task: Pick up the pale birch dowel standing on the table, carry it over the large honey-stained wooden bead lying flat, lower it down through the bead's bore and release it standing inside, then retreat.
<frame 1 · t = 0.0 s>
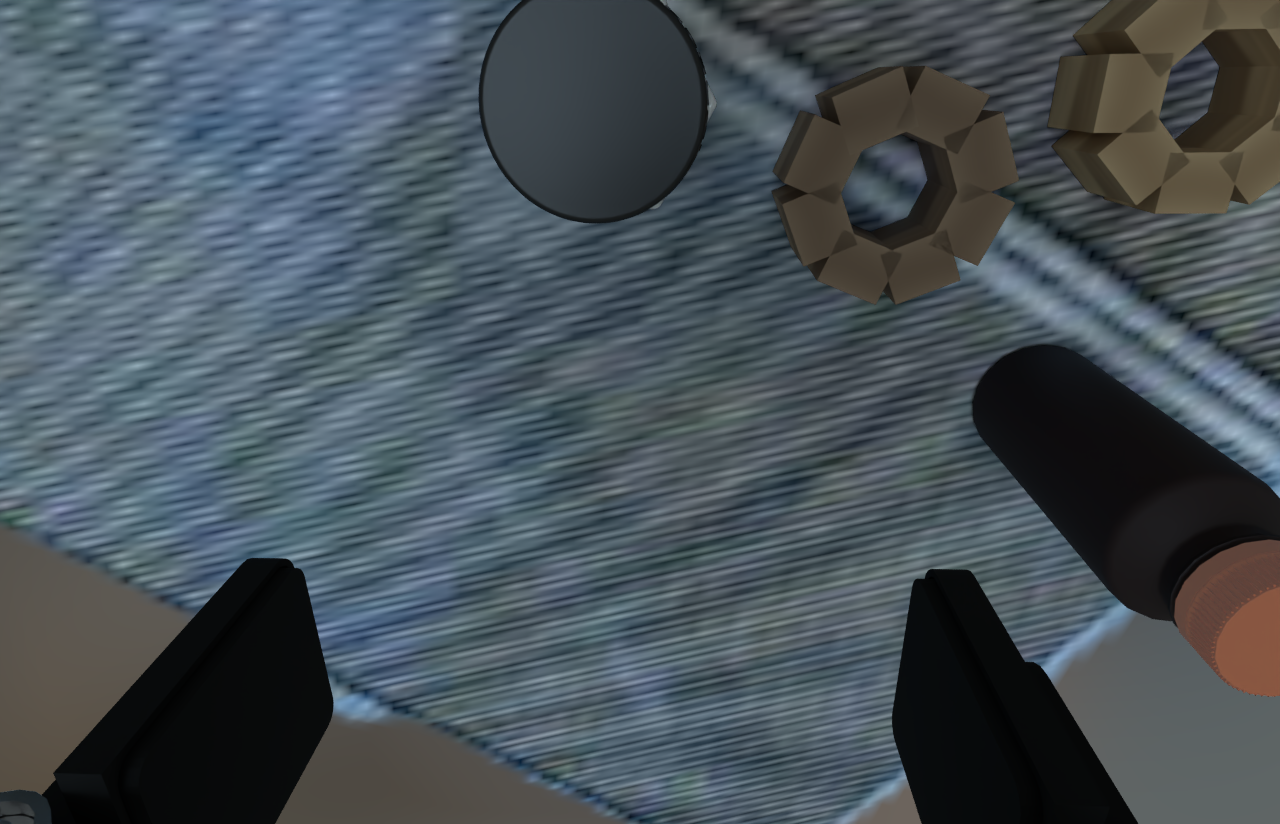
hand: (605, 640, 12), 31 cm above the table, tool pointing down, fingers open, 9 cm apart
bottle: (1030, 398, 43), on the table
bead: (1161, 90, 36), on the table
bead two: (875, 180, 38), on the table
jar: (618, 98, 38), on the table
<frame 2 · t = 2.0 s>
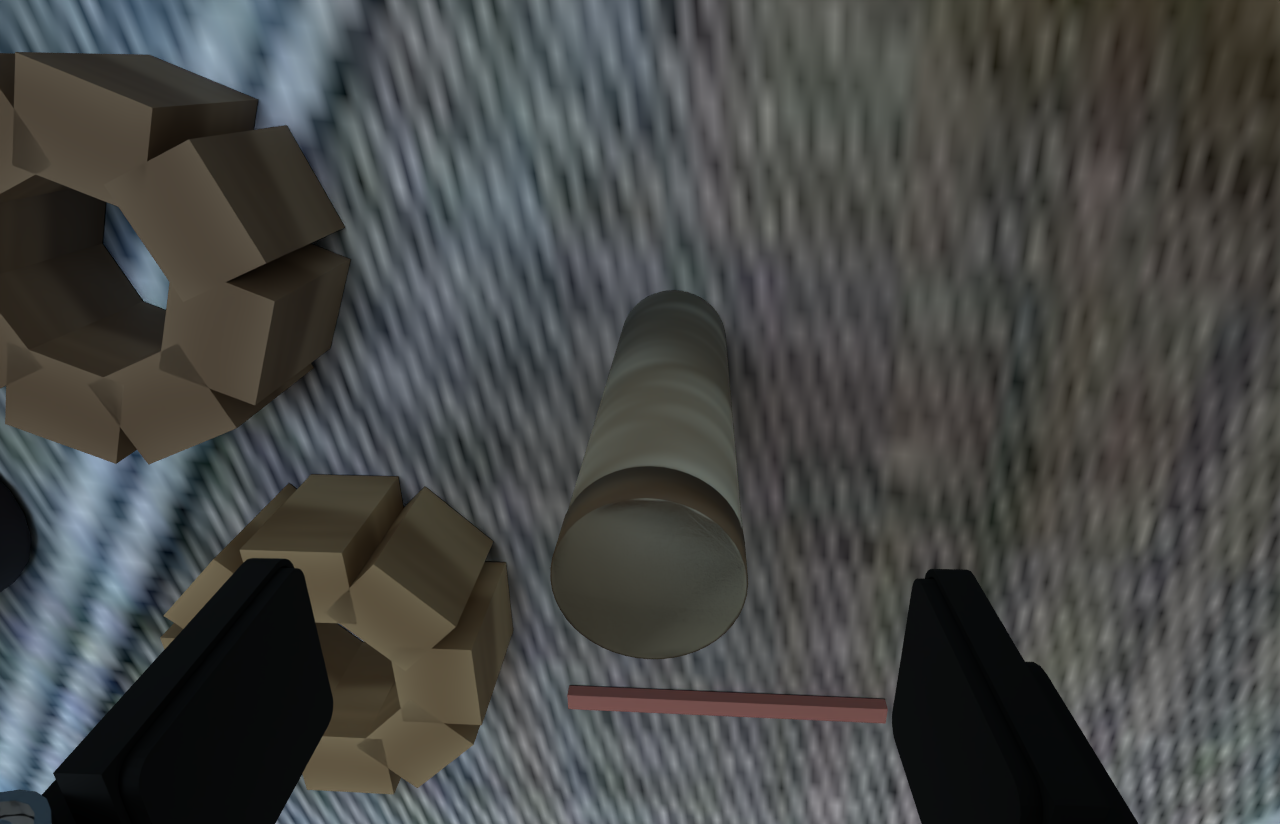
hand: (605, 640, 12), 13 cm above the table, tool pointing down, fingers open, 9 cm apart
bead: (377, 592, 28), on the table
dowel: (673, 341, 23), on the table
reddish brown square stick: (724, 699, 29), on the table
bead two: (182, 243, 23), on the table
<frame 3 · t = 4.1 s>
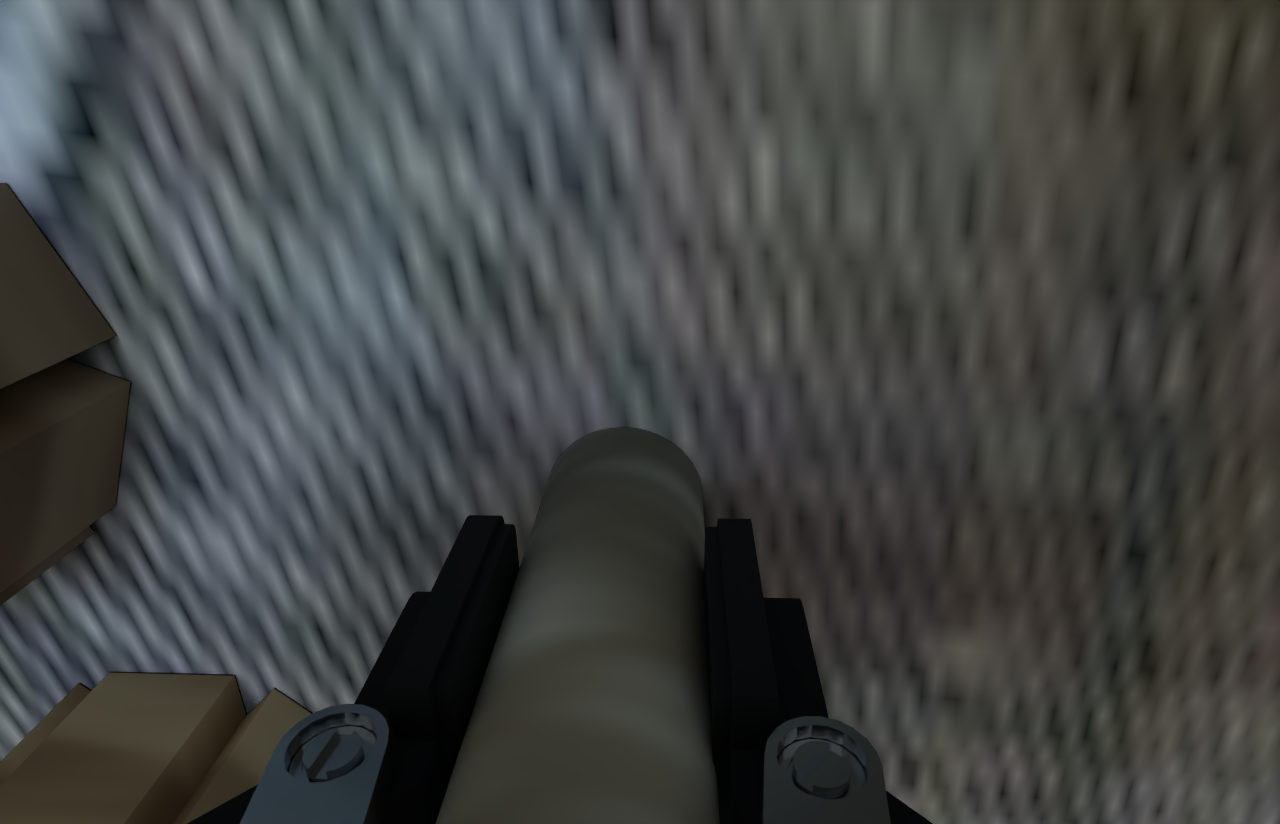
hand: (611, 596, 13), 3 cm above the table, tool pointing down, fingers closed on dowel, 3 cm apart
bead: (221, 819, 20), on the table
dowel: (624, 498, 16), on the table, touching gripper
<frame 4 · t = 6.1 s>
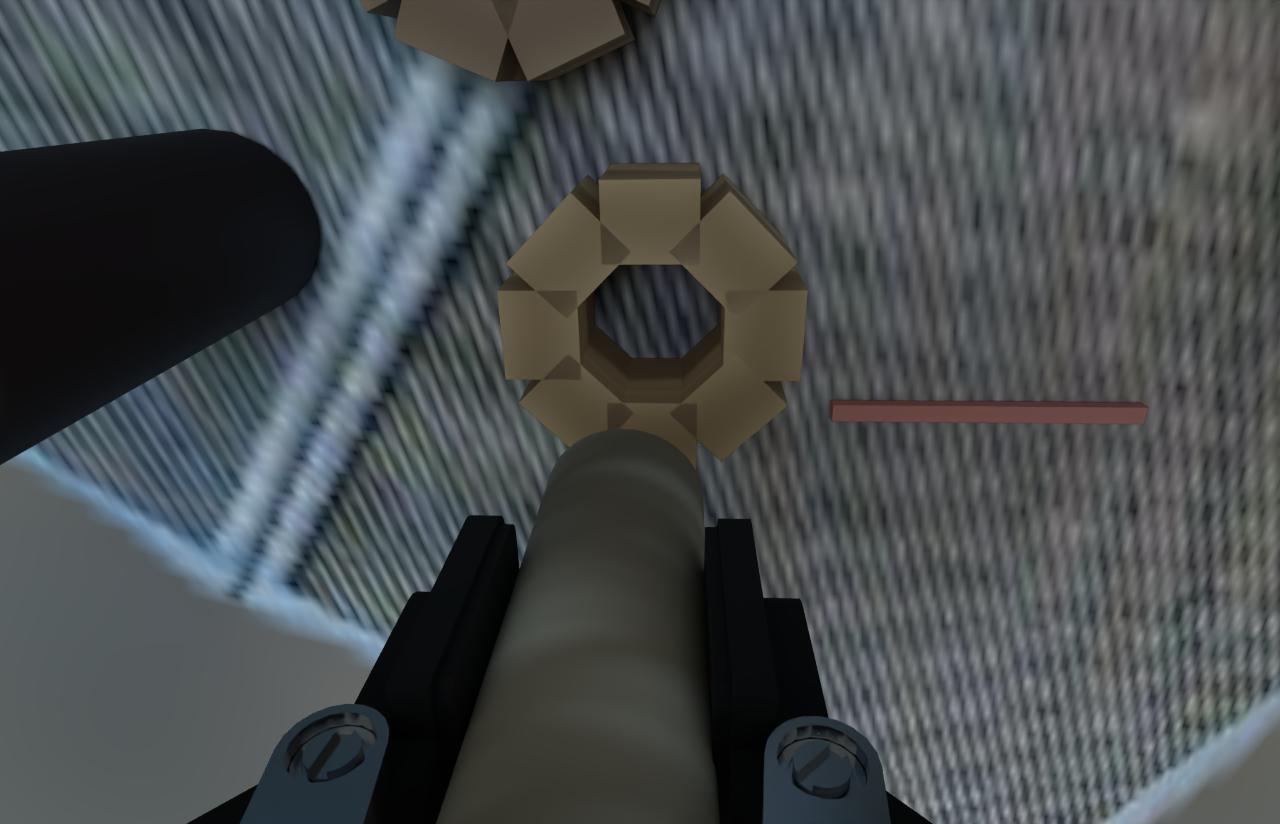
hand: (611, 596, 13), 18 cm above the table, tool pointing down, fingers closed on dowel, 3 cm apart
bottle: (238, 221, 29), on the table
bead: (656, 299, 29), on the table
dowel: (624, 499, 16), point 15 cm above the table, touching gripper
reddish brown square stick: (983, 409, 30), on the table
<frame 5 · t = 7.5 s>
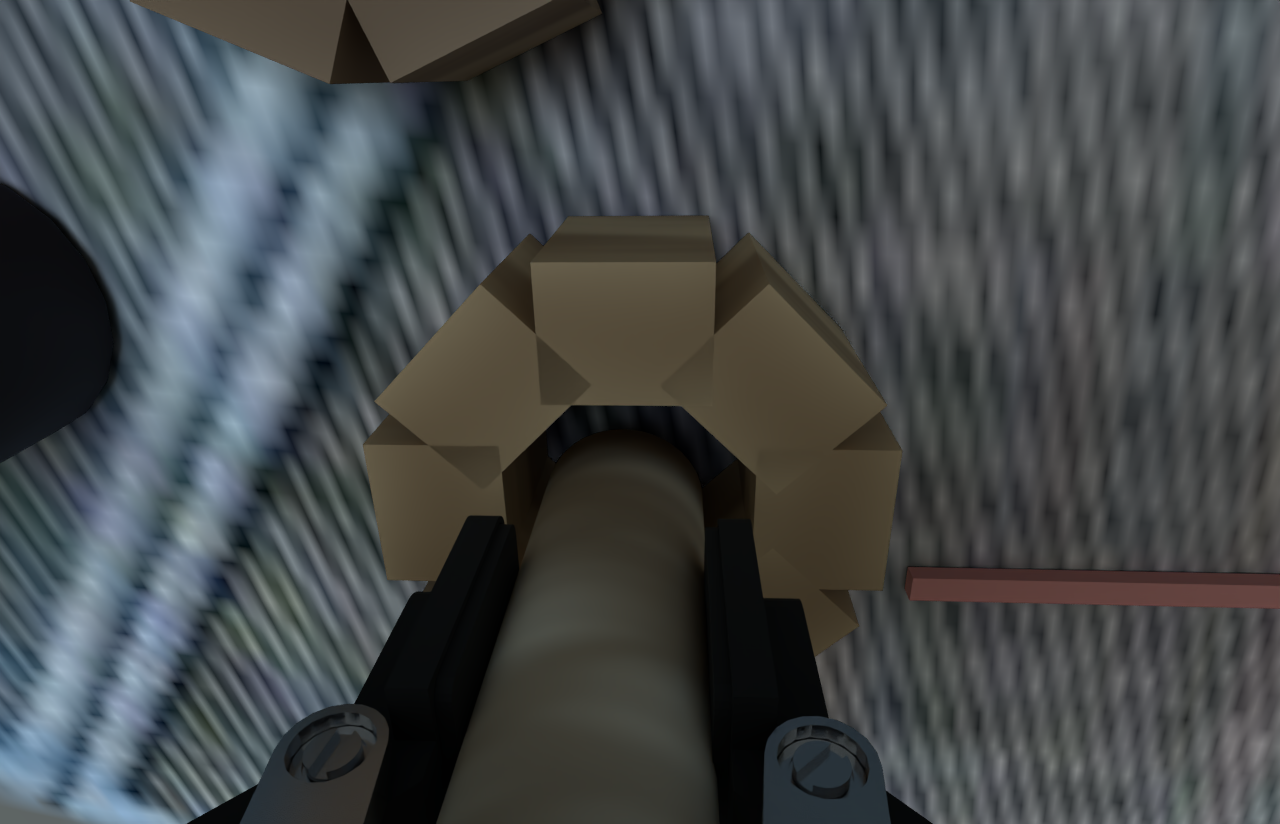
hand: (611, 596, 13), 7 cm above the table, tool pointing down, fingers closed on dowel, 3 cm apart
bead: (641, 421, 19), on the table
dowel: (624, 499, 16), point 4 cm above the table, touching gripper
reddish brown square stick: (1139, 582, 20), on the table
when the fingers open (6 cm above the table, at t = 8.3 s): dowel drops 2 cm, resting in bead.
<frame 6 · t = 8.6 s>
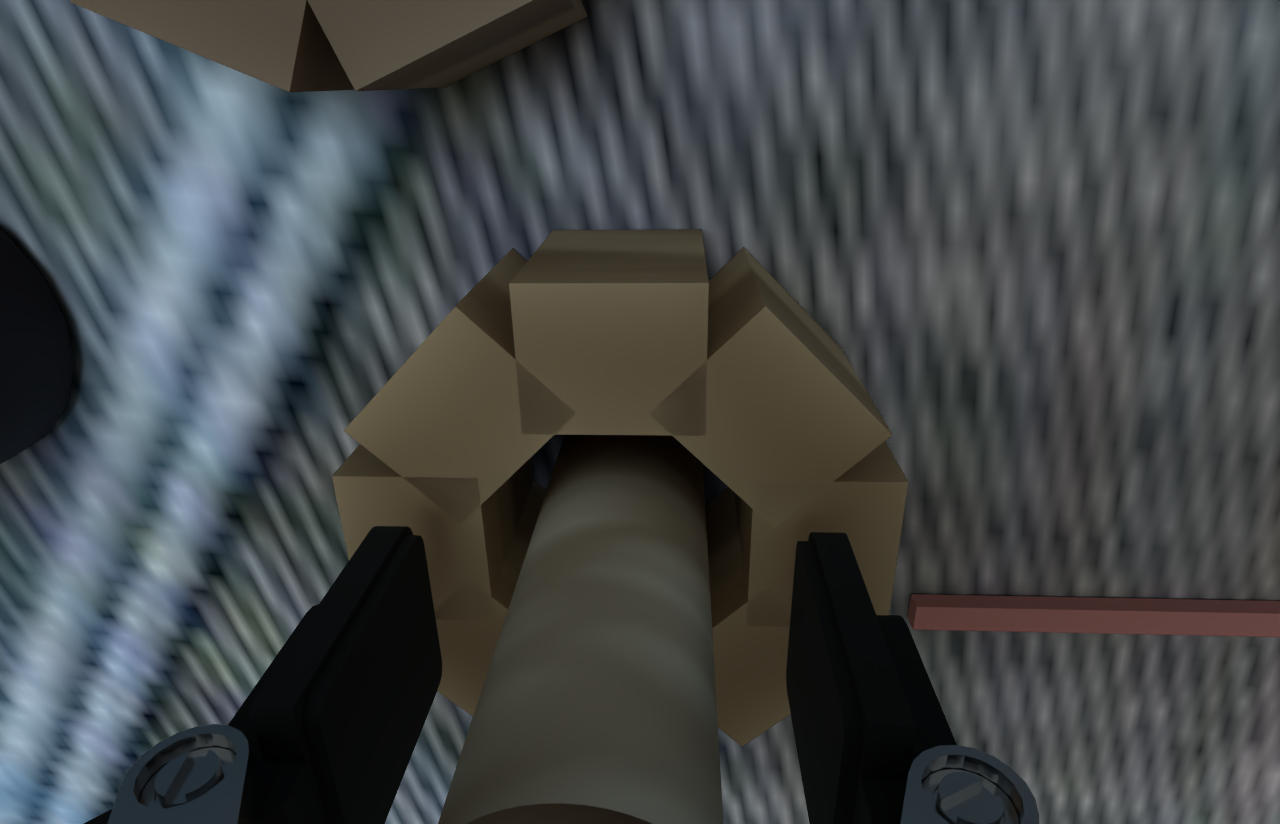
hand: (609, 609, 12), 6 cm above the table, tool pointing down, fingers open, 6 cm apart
bead: (631, 444, 18), on the table
dowel: (633, 443, 18), resting in bead
reddish brown square stick: (1152, 610, 19), on the table
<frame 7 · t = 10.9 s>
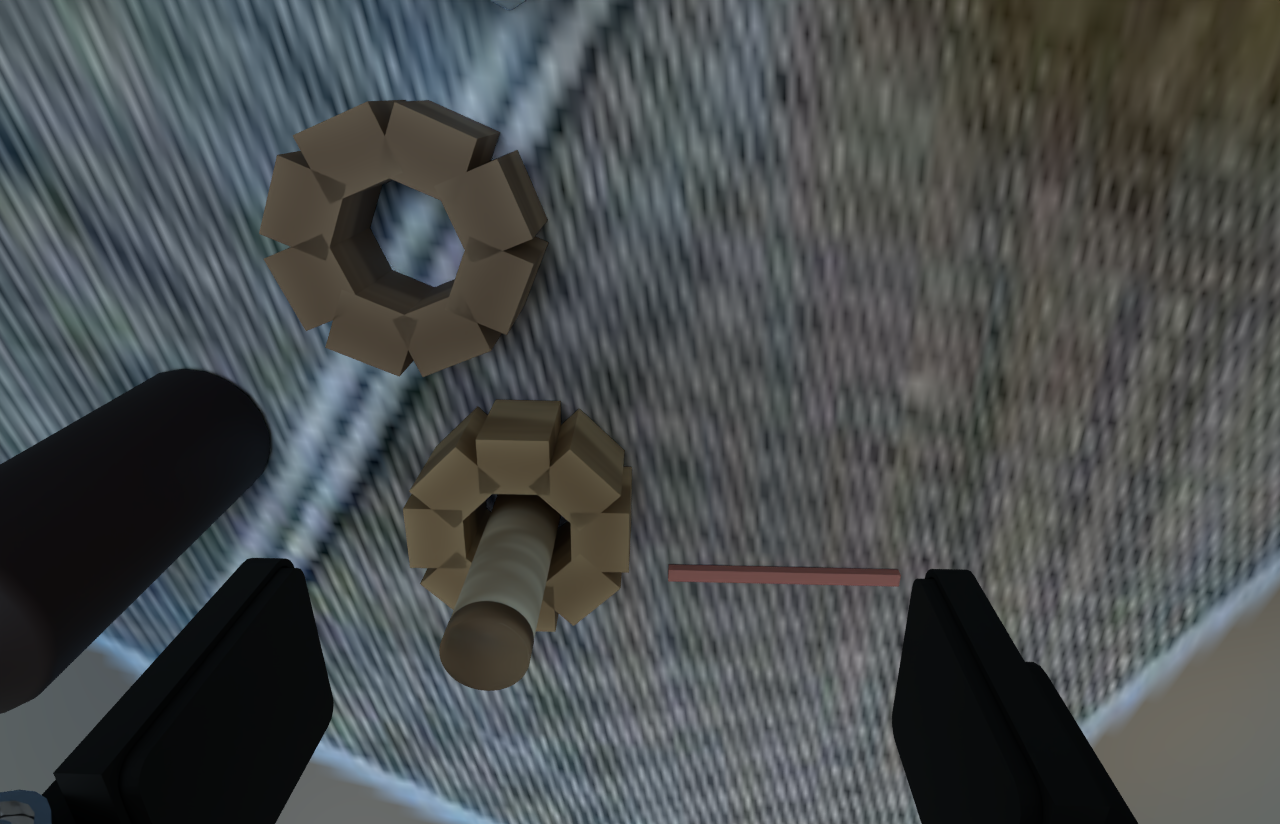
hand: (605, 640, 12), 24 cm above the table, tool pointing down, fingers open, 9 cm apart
bottle: (206, 429, 37), on the table
bead: (532, 492, 38), on the table
dowel: (533, 491, 38), resting in bead
reddish brown square stick: (782, 572, 40), on the table
bead two: (429, 229, 33), on the table
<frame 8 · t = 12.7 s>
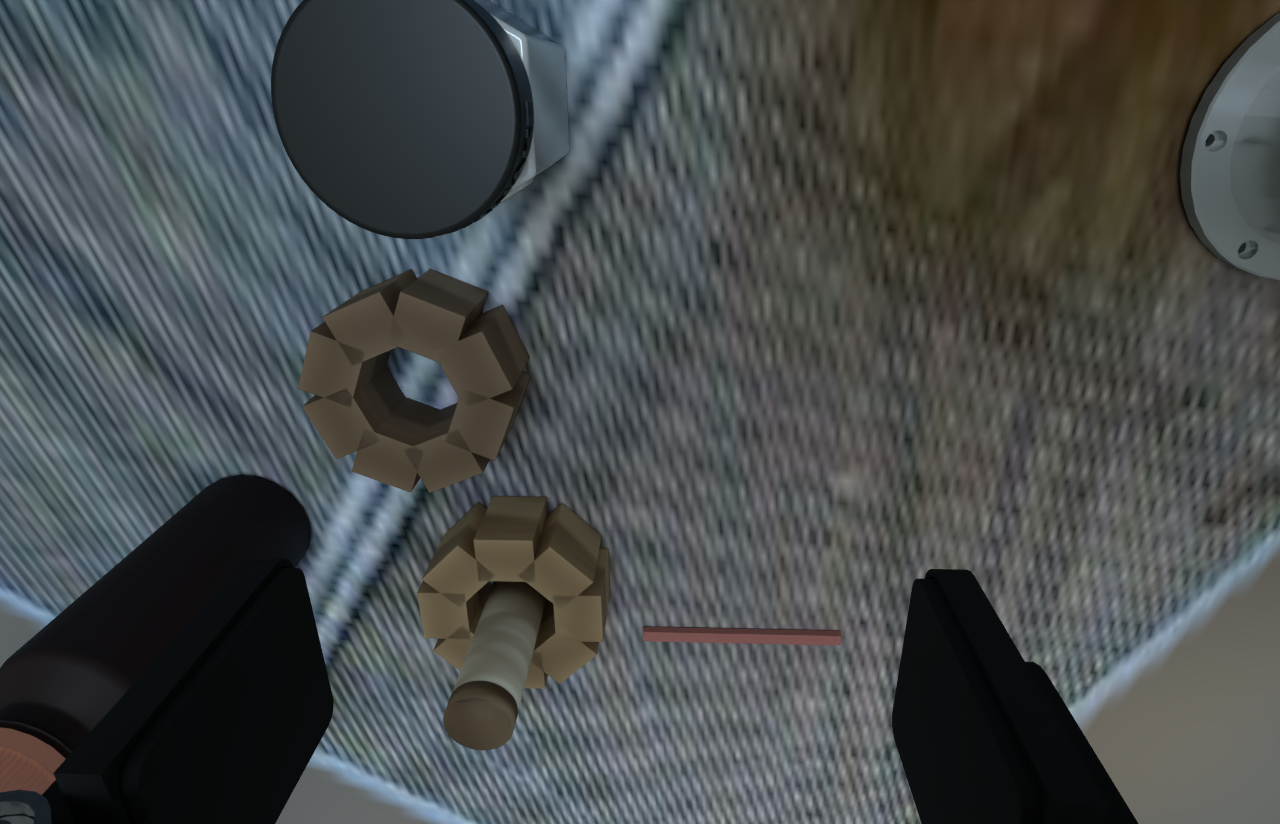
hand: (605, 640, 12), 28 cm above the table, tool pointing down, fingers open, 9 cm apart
bottle: (258, 520, 45), on the table
bead: (526, 568, 46), on the table
dowel: (527, 568, 46), resting in bead
reddish brown square stick: (740, 633, 47), on the table
bead two: (433, 365, 41), on the table
jar: (485, 101, 35), on the table
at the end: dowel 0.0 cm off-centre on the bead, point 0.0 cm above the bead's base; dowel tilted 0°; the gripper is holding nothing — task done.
